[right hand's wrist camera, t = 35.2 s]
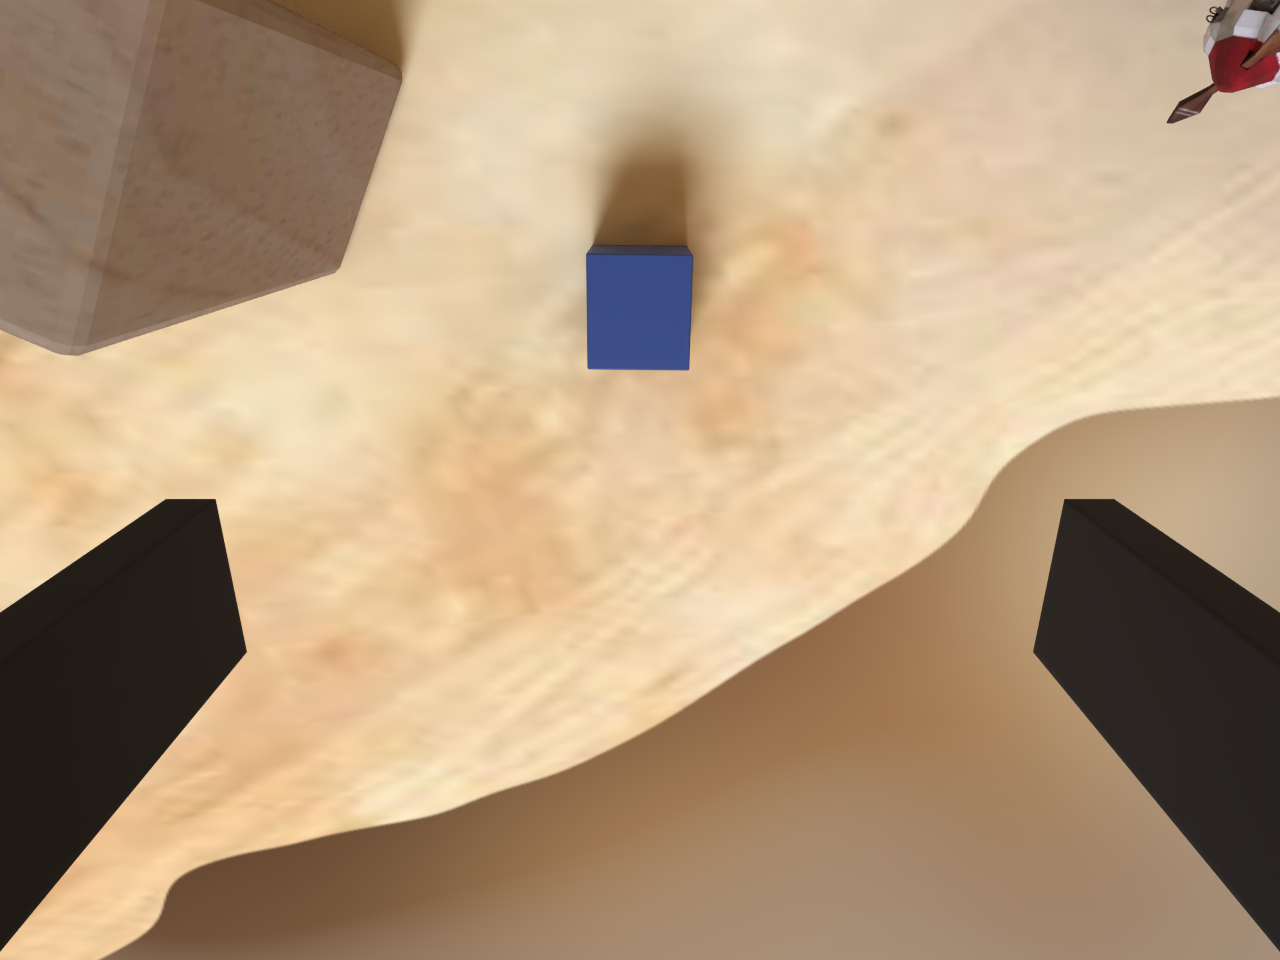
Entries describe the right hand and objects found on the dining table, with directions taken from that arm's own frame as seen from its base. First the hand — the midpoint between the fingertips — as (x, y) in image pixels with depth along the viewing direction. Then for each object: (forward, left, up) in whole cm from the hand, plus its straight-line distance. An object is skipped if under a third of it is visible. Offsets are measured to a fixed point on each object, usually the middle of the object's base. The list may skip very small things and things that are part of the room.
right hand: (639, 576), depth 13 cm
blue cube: (0, 0, -29) cm, 29 cm away
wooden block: (-16, -10, -29) cm, 35 cm away
